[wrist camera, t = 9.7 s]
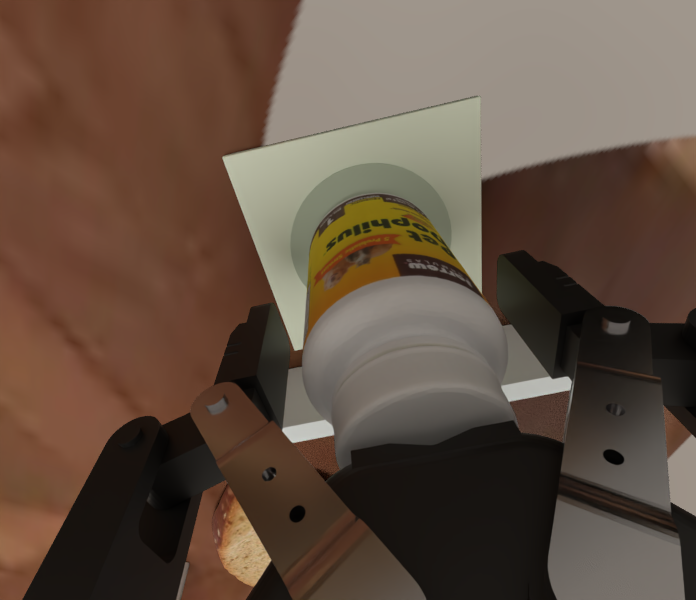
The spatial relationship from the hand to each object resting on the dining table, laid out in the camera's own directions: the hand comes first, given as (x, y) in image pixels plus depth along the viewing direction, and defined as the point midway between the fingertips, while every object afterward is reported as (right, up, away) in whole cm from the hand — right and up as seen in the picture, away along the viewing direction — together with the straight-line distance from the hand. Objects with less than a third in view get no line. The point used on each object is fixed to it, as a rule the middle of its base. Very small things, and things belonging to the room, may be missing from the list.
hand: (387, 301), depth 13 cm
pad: (0, +3, +4) cm, 5 cm away
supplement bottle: (0, +2, +4) cm, 5 cm away
